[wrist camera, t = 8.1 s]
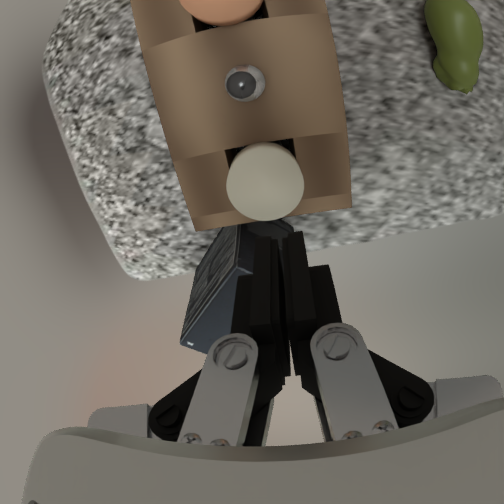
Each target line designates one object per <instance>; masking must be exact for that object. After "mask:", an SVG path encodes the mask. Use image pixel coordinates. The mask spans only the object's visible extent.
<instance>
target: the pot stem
mask: <svg viewBox="0 0 504 504" xmlns="http://www.w3.org/2000/svg"><path fill="white" fill-rule="evenodd" d="M225 88H226V91H227V92H228V94H229V95H230V96H231V97H232V98H234V99H236V100H238V101H243V102H247V101H252V100H254V99H256V98H258V97H259V96H260V95H261V94H262V92H263V91H264V88H265V78H264V76H263V74H262V72H261V71H260V70H259V69H257V68H256V67H254V66H251V65H239V66H236V67H234V68H233V69H231V70H230V71H229V73H228V74H227V76H226V79H225Z"/></svg>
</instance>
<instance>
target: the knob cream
mask: <svg viewBox="0 0 504 504" xmlns="http://www.w3.org/2000/svg"><path fill="white" fill-rule="evenodd" d="M226 189H227V194H228V197H229V199H230V201H231V203H232V205H233V206H234V207H235V208H236V209H237V210H238V211H239V212H240V213H241V214H243V215H245V216H247V217H249V218H251V219H255V220H260V221H271V220H276V219H279V218H282V217H284V216H286V215H287V214H289V213H290V212H292V211H293V210H294V209H295V208H296V206H297V205H298V204H299V202H300V200H301V198H302V196H303V192H304V179H303V175H302V173H301V170H300V168H299V165H298V163H297V161H296V159H295V157H294V156H293V155H292V154H291V152H290V151H288V150H287V149H286V148H284V147H283V145H282V143H281V142H280V141H279V140H276V141H270V142H259V143H254V144H251V145H247V146H244V148H243V149H242V150H241V151H240V152H239V153H238V154H237V155H236V156H235V158H234V160H233V161H232V164H231V167H230V170H229V173H228V177H227V183H226Z"/></svg>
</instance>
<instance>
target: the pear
mask: <svg viewBox="0 0 504 504" xmlns="http://www.w3.org/2000/svg"><path fill="white" fill-rule="evenodd" d="M424 14H425V19H426V23H427V26H428V29H429V32H430V34H431V36H432V38H433V40H434V42H435V44H436V47H437V56H436V58H435V59H434V62H433V69H434V71H435V73H436V77H437V78H438V79H439V80H440V81H441V82H443V83H445V85H446V86H447V87H448V88H449V89H451V90H459V91H461V92H463V93H465V94H468V92H469V91H470V92H472V90H473V85H474V84H476V83H477V79H478V76H479V66H478V61H479V57H480V55H481V52H482V48H483V31H482V26H481V22H480V19H479V17H478V15H477V13H476V11H475V10H474V8H473V7H472V6H471V5H470V4H469V3H468V2H467V1H465V0H427V1H426V3H425V7H424Z"/></svg>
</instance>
